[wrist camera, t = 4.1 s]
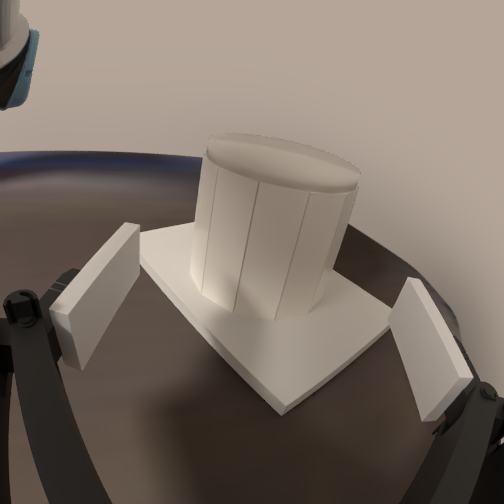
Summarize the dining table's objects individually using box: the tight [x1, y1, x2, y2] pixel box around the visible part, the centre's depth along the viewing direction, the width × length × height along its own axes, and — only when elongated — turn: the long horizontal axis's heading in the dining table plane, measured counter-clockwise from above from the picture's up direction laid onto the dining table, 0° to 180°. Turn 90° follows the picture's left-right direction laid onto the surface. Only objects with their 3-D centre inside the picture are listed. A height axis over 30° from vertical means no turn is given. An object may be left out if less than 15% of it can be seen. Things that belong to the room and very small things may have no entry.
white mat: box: [140, 222, 392, 416], centre depth 26 cm, size 20×14×1 cm
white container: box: [190, 133, 360, 321], centre depth 24 cm, size 10×10×10 cm
